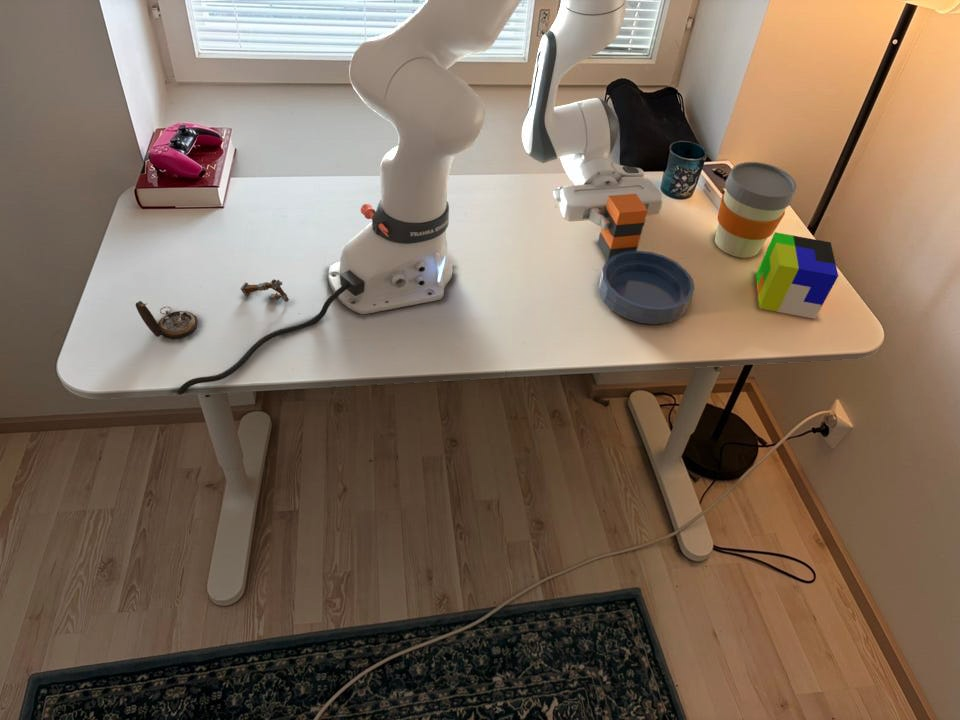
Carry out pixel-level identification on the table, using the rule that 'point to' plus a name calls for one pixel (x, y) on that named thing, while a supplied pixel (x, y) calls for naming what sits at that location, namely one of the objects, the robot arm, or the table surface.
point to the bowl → (645, 287)
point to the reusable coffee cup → (752, 207)
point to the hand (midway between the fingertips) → (625, 225)
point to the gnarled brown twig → (265, 286)
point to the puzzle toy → (796, 275)
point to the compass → (169, 322)
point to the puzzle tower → (622, 224)
